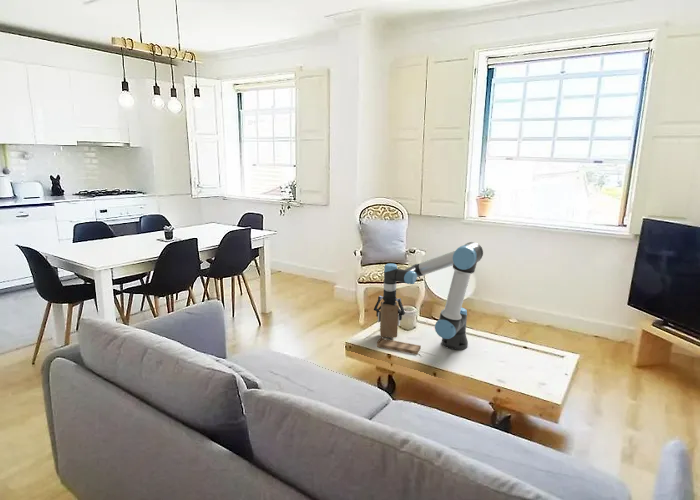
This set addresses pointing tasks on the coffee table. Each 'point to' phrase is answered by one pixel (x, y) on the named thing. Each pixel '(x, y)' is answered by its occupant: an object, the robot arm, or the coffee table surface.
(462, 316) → the robot arm
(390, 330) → the wooden block
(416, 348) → the plank
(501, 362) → the coffee table surface
